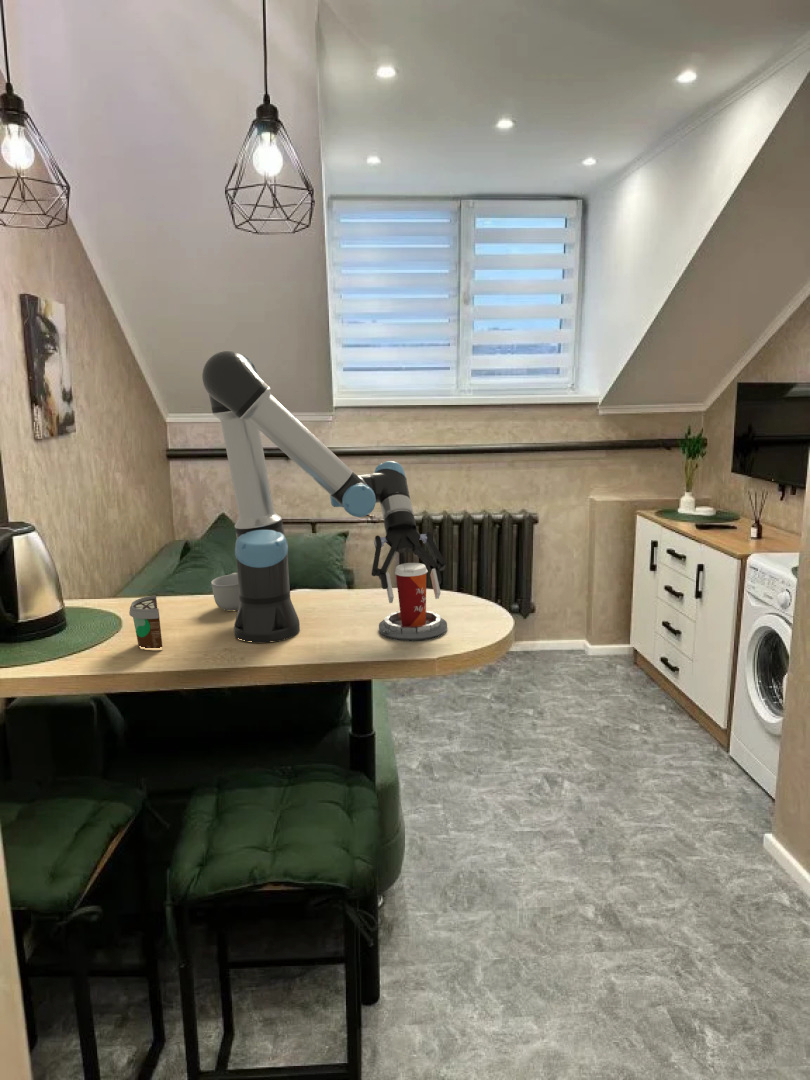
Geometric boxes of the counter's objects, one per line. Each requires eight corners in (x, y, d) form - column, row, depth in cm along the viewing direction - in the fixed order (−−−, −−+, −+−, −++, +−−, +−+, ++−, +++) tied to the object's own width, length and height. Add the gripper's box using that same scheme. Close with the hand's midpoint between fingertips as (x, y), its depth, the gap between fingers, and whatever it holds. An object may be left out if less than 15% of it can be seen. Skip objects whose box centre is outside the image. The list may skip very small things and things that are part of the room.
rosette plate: (373, 640, 169) (372, 629, 169) (384, 617, 185) (384, 607, 184) (444, 642, 167) (444, 630, 167) (449, 618, 183) (449, 608, 182)
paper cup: (428, 629, 171) (425, 570, 168) (394, 629, 173) (391, 570, 170) (432, 618, 179) (429, 561, 176) (400, 618, 180) (397, 562, 177)
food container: (132, 639, 175) (127, 597, 173) (160, 635, 177) (155, 594, 175) (133, 656, 164) (128, 613, 162) (163, 652, 166) (158, 609, 164)
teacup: (250, 613, 191) (248, 583, 190) (208, 614, 192) (205, 584, 190) (262, 597, 205) (260, 569, 203) (222, 598, 205) (220, 570, 203)
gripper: (441, 523, 188) (459, 601, 177) (351, 529, 184) (364, 610, 172) (446, 506, 182) (466, 585, 171) (353, 512, 178) (367, 594, 166)
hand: (414, 598), depth 171 cm, fingers open, 10 cm apart
